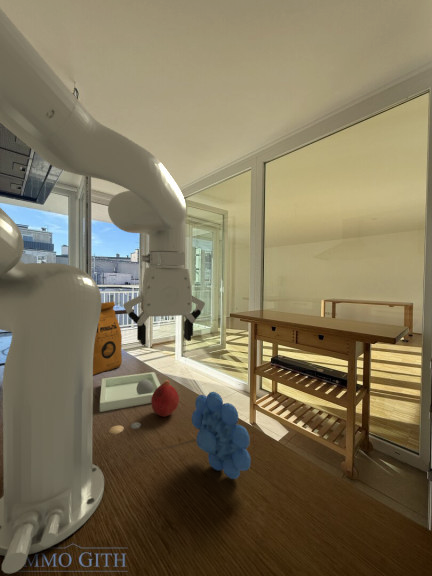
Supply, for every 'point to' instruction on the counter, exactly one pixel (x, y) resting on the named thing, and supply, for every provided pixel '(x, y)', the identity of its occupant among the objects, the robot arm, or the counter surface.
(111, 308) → the coffee package
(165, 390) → the onion
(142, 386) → the ball
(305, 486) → the counter surface
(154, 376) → the dish
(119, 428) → the tile
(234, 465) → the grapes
